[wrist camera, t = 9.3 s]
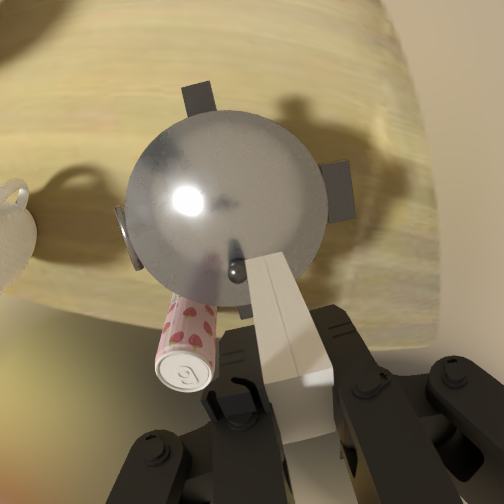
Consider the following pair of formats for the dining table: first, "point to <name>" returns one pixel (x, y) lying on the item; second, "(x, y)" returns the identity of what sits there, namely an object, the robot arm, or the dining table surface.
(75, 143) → the dining table surface
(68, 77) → the dining table surface
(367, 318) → the dining table surface
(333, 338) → the robot arm
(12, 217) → the mug
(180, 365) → the beverage can
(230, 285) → the lid
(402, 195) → the dining table surface
